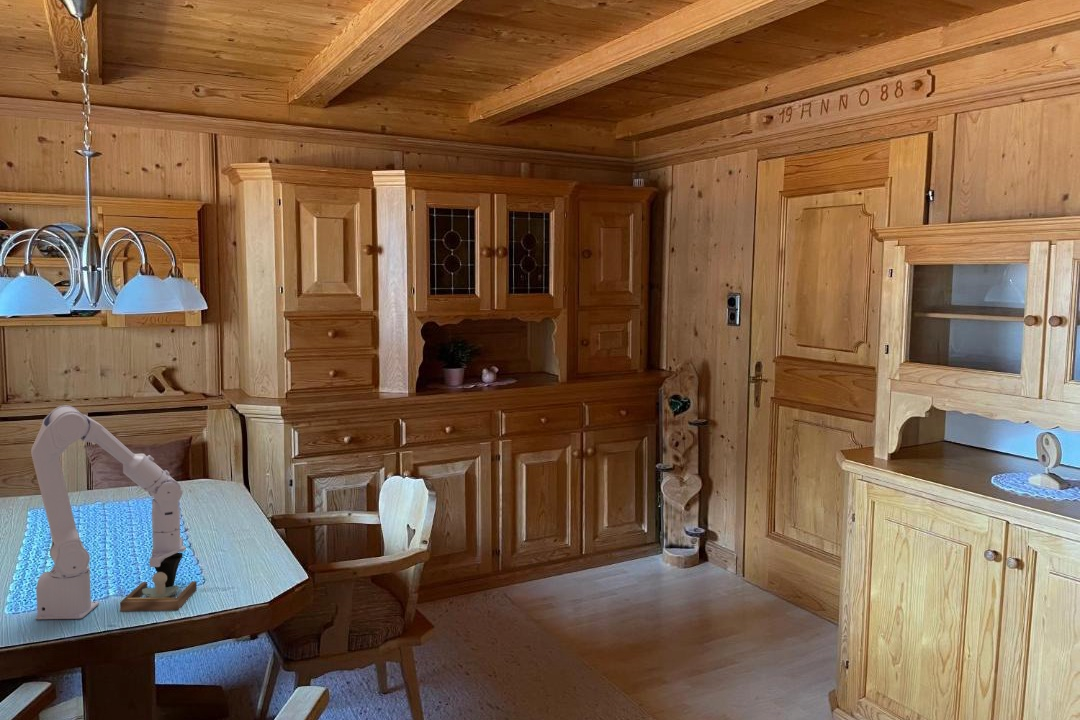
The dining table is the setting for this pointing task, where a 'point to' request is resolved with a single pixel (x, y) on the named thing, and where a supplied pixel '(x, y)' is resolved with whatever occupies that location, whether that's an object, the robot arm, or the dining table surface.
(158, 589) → the pacifier
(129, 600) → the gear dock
